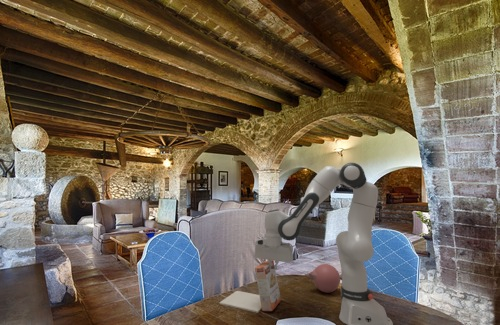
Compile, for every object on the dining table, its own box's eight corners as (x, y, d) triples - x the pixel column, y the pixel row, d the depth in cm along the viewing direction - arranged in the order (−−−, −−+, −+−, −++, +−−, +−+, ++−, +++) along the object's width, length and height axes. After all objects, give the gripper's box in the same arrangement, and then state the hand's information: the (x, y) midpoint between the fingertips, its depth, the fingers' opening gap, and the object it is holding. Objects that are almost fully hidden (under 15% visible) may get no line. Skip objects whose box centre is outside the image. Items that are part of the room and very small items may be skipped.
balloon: (303, 286, 170) (303, 260, 171) (337, 287, 168) (336, 261, 169) (306, 296, 154) (306, 267, 156) (343, 297, 153) (342, 268, 154)
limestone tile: (272, 299, 151) (272, 297, 151) (257, 312, 135) (257, 311, 135) (236, 292, 161) (236, 290, 161) (219, 304, 145) (219, 302, 145)
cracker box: (273, 311, 133) (264, 266, 137) (262, 312, 136) (253, 267, 139) (282, 300, 146) (273, 259, 150) (271, 300, 149) (263, 260, 152)
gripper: (294, 242, 141) (295, 270, 140) (258, 238, 150) (258, 264, 149) (290, 244, 136) (290, 273, 135) (253, 240, 145) (253, 267, 144)
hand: (273, 269), depth 142 cm, fingers closed
